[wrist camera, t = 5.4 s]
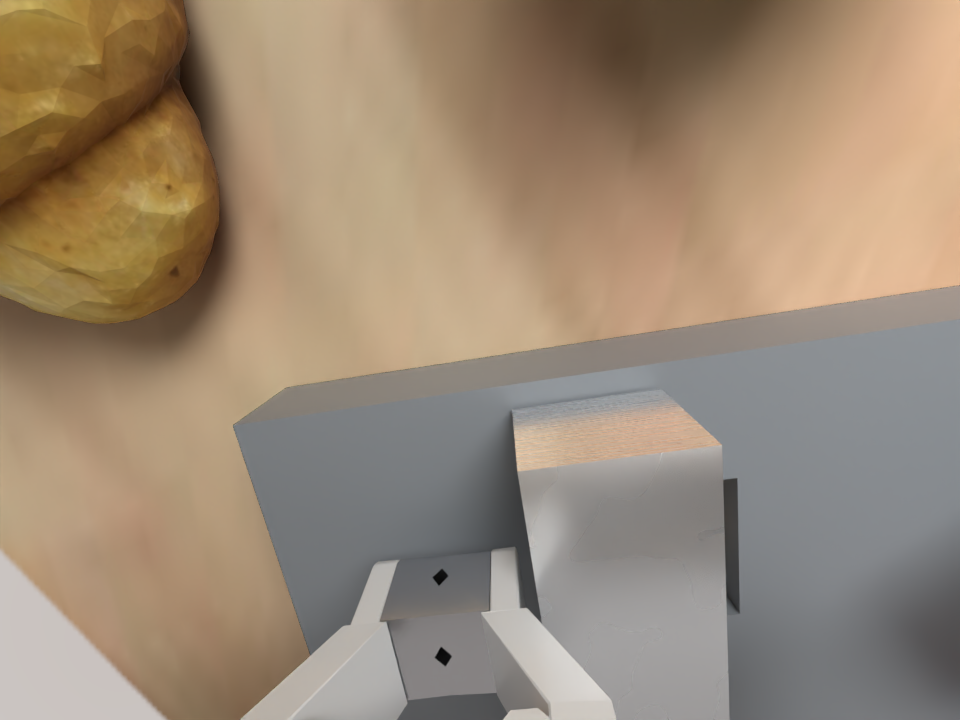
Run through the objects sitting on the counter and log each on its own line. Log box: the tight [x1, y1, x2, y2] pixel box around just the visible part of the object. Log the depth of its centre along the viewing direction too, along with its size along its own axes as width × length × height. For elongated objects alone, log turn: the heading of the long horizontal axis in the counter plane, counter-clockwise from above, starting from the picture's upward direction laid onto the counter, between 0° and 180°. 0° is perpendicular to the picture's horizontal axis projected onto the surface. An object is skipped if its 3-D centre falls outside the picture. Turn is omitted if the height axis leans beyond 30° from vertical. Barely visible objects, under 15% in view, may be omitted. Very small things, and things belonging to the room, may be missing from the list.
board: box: [233, 285, 960, 720], centre depth 10 cm, size 17×25×7 cm
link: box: [512, 389, 730, 720], centre depth 9 cm, size 13×5×2 cm, turn 9°
